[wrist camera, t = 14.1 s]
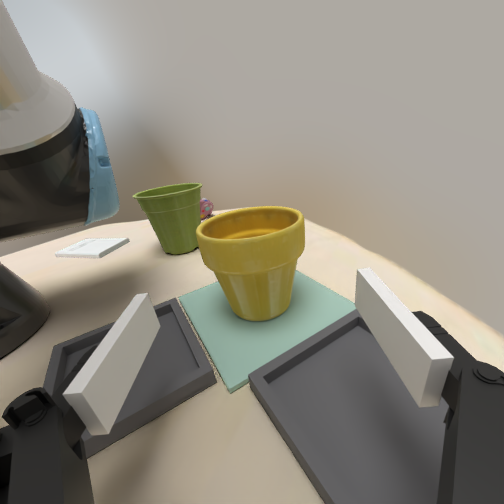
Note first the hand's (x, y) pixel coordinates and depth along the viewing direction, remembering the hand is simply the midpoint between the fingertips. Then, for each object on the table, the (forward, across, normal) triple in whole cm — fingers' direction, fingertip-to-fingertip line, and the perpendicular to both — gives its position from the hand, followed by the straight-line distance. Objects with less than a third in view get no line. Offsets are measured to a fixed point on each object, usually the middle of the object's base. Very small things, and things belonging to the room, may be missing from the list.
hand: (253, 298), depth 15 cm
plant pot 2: (+10, 0, -8) cm, 12 cm away
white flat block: (+36, -36, -9) cm, 51 cm away
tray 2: (-2, +7, -8) cm, 11 cm away
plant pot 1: (+30, -14, -8) cm, 34 cm away
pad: (+10, 0, -8) cm, 13 cm away
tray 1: (+3, -12, -8) cm, 15 cm away
